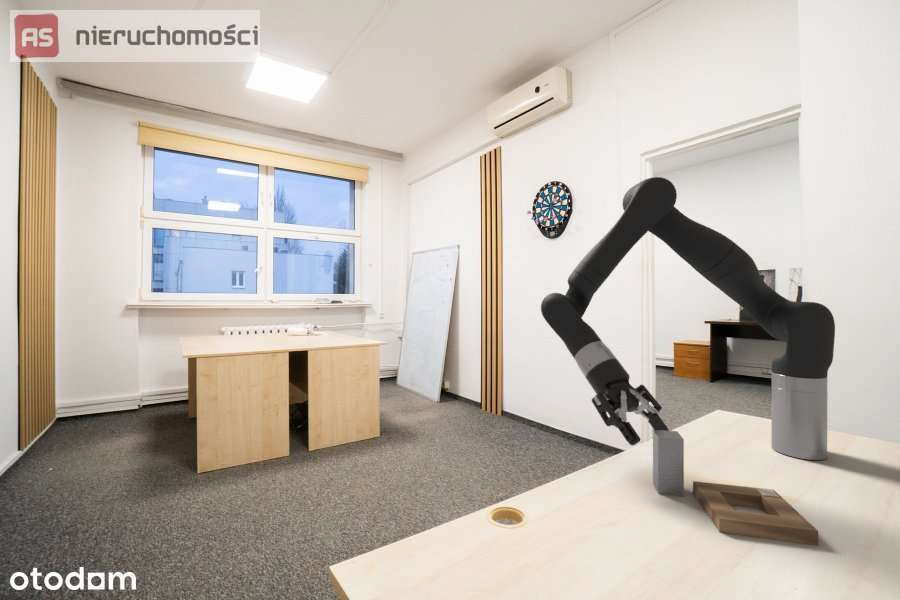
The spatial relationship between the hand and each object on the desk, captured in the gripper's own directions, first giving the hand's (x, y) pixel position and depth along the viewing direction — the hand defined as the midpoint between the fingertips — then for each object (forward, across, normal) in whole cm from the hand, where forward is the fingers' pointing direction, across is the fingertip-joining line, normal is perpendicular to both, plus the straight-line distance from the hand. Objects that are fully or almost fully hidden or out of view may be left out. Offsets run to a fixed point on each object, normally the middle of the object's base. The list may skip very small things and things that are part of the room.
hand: (651, 439), depth 73 cm
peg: (+8, 0, +4) cm, 9 cm away
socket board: (+16, +3, -4) cm, 17 cm away
